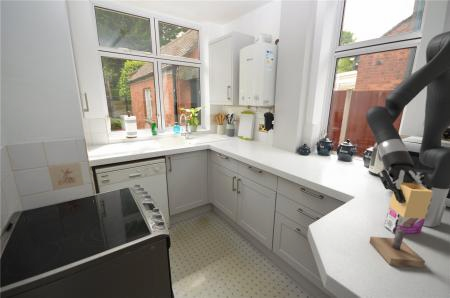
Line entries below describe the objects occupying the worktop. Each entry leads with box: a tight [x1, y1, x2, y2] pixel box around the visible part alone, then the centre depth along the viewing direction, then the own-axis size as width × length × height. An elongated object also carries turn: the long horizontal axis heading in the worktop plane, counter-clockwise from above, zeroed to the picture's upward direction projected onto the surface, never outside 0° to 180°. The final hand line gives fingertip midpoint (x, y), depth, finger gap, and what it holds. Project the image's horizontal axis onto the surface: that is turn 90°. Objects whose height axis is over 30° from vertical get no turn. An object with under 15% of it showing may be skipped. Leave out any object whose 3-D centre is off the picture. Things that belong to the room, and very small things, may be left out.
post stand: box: [368, 229, 426, 269], centre depth 65 cm, size 10×10×10 cm
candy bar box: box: [383, 197, 433, 235], centre depth 77 cm, size 11×5×16 cm, turn 92°
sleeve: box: [388, 182, 433, 219], centre depth 61 cm, size 6×6×9 cm
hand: (414, 203), depth 60 cm, fingers closed on sleeve, 6 cm apart
